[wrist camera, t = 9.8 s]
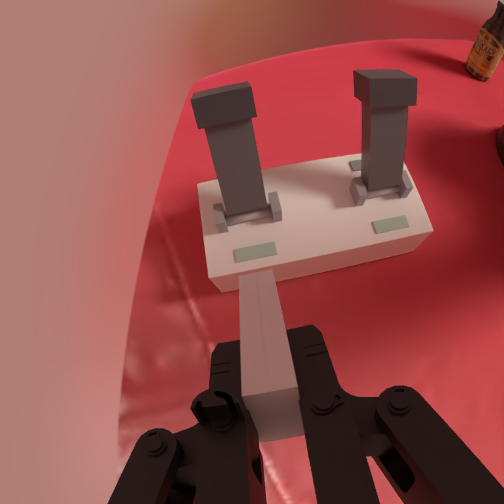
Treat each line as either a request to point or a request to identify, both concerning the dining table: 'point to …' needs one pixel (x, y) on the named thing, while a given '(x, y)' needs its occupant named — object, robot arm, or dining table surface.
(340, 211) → the switch panel
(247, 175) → the outer lever
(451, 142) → the dining table surface
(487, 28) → the sauce bottle
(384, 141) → the inner lever
